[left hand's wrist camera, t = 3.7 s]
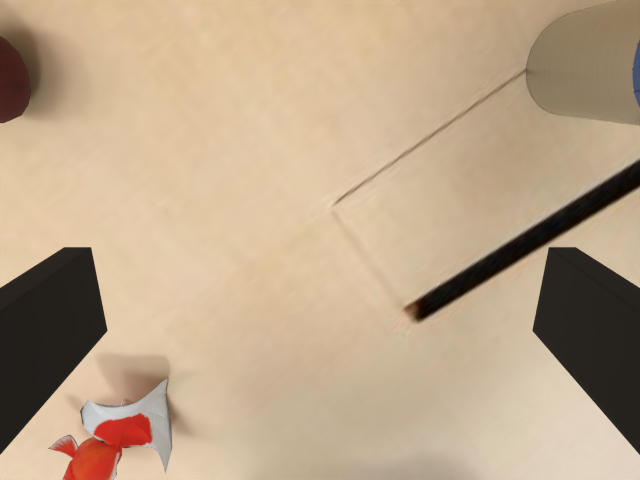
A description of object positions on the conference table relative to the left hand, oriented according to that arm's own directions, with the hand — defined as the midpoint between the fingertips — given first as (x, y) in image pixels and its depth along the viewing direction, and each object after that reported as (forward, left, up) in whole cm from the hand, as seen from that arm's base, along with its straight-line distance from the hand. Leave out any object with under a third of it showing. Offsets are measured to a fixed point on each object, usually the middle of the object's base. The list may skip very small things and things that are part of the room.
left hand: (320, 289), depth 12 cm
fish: (-29, +22, -28) cm, 46 cm away
